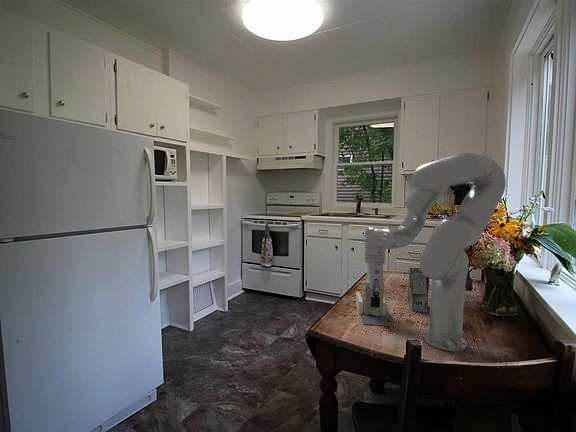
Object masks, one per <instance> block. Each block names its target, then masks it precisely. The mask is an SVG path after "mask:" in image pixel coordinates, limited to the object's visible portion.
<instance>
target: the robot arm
mask: <svg viewBox="0 0 576 432" xmlns="http://www.w3.org/2000/svg"><path fill="white" fill-rule="evenodd" d="M411 183H412V185H413V188H412V190H411V192H410V193H409V194H408V196H407V197H406V198H405V200H404V206H405V208H407V214H406V216H405V217H404V219H403V221H402V222H401V223H400V225H399V226H396V227H390V228H385V227H383V226H377V225H376V226H368V227H366V228H365V233H364V234H365V236H364V237H365V239H364V240H365V242H364V243H365V244H364V262H365V264H367V272H366V273H367V278H366V279H367V280H366V281H368V282H369V287H370V289H371V290H372V296H371V307H376V308H379V307H380V291H379V287H380V289H381V290H383V283H384V264H386V250H394V249H398V248H404V247H407V246H409V245H411V243H413V241H414V240H415V239H416V237H418V235H419V234H420V232H421V231H422V229H424V228H423V227H424V226H425V223H426V221H427V216H428V214H429V213H430V211H432V209H433V208H434V206H435V204H436V203H437V202H438V201H439V199H440V198H441V197H443V194H444V193H445V192H447V190H448V188H449V187H452V186H453V187H454V186H458V185H464V184H470V185H471V186H470V187H471V188H470V190H469V191H468V192H467V194H466V195H465V197H464V198H463V200H462V201H461V204H460V206H459V208H458V210H457V211H456V213H455V214H454V215H451V216H446V217H444V218H443V219H441V220H440V221H439V222H438V223H437V225H436V226H435V227H434V229H433V230H432V232H431V235H430V236H429V239H428V241H427V243H426V245H425V247H424V249H423V251H422V253H421V256H420V257H419V268H421V270H422V272H423V274H424V275H425V276H426V277H428V278H429V280H431V284H430V285H431V287H430V301H429V302H430V303H429V325H428V330H427V331H425V332H424V333H423V337H422V338H423V340H424V341H425V343H427V344H428V345H430V346H432V347H433V348H436V349H439V350H443V351H448V352H463V351H465V350H466V349H467V348H468V343H467V340H466V339H465V338H463V324H464V310H465V309H464V308H465V307H464V306H465V291H466V290H465V289H466V283H467V278H468V272H469V268H470V267H469V265H470V263H469V262H470V261H469V260H470V259H469V257H468V255H467V253H466V251H465V250H464V249H465V248H466V247H470V246H473V245H475V244H476V243H477V242H479V241H480V239H481V238H482V235H483V234H484V231H485V229H486V228H487V225H488V224H489V222H490V220H491V218H492V217H493V215H494V212H495V210H496V209H497V207H498V205H499V204H500V202H501V199H502V198H503V195H504V193H505V190H506V184H507V181H506V175H505V172H504V170H503V169H502V167H501V165H499V163H498V162H497V161H495V160H493V159H492V158H491V157H488V156H486V155H482V154H477V153H472V152H461V153H457V154H456V153H455V154H453V155H450V156H446V157H444V158H443V157H442V158H439V159H437V160H433V161H430V162H426V163H423V164H421V165H419V166H418V167H416V169H414V171H413V173H412V176H411ZM373 287H375V289H373ZM373 291H375V292H373Z"/></svg>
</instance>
